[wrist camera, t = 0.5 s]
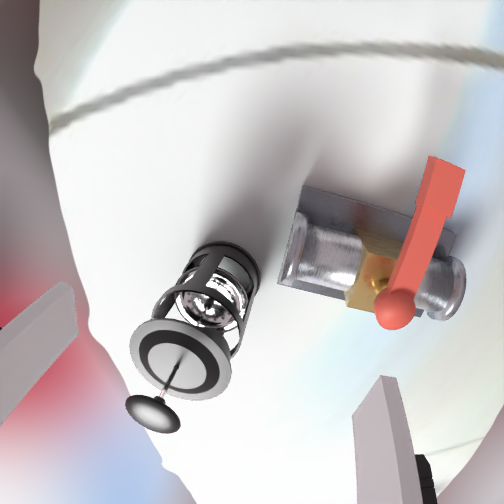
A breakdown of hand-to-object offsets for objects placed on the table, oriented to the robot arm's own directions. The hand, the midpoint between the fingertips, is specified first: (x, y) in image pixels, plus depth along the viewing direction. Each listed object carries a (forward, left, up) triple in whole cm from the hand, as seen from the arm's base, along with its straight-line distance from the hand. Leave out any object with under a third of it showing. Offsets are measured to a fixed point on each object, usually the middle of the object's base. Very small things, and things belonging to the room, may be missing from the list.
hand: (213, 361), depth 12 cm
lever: (-3, +13, -15) cm, 20 cm away
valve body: (+3, +13, -26) cm, 29 cm away
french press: (+11, -4, -26) cm, 28 cm away
